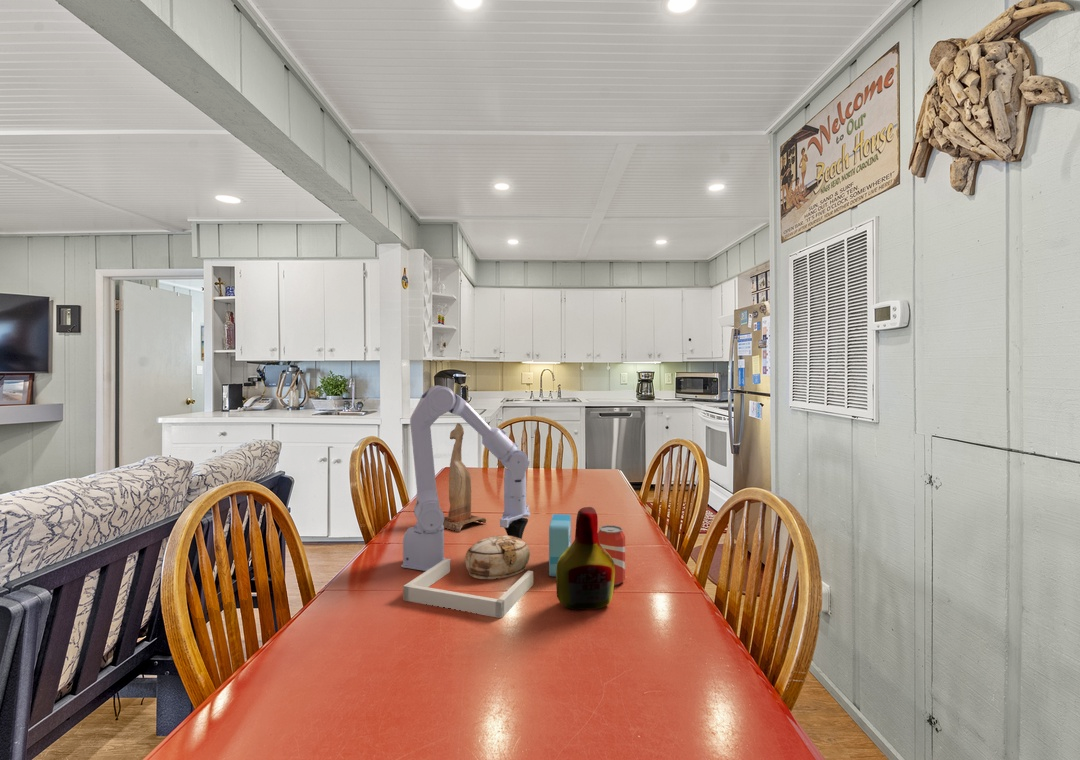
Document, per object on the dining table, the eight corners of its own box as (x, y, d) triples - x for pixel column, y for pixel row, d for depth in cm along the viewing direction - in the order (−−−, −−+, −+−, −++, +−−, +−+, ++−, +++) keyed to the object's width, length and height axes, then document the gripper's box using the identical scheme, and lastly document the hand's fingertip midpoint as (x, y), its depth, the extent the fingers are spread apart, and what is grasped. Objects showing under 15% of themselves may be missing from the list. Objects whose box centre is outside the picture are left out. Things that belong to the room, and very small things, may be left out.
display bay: (403, 600, 108) (403, 585, 108) (445, 571, 124) (445, 558, 124) (501, 618, 100) (501, 602, 100) (533, 584, 116) (533, 571, 116)
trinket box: (457, 577, 120) (457, 543, 120) (487, 556, 134) (487, 526, 134) (509, 586, 115) (509, 551, 115) (535, 563, 129) (535, 532, 129)
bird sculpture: (460, 519, 169) (457, 420, 169) (487, 524, 162) (484, 421, 162) (434, 527, 160) (431, 423, 159) (462, 533, 153) (458, 424, 153)
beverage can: (627, 578, 119) (627, 526, 119) (619, 589, 114) (619, 534, 113) (602, 574, 122) (602, 523, 122) (593, 584, 116) (593, 530, 116)
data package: (568, 579, 119) (568, 527, 119) (549, 578, 119) (548, 526, 119) (571, 560, 131) (570, 512, 131) (553, 559, 131) (552, 512, 131)
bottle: (612, 599, 109) (612, 503, 108) (617, 613, 102) (617, 512, 102) (555, 599, 109) (555, 504, 108) (556, 613, 102) (556, 512, 102)
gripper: (518, 503, 126) (518, 558, 127) (539, 490, 140) (539, 540, 140) (492, 500, 129) (492, 555, 129) (515, 488, 142) (515, 537, 143)
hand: (515, 547), depth 135 cm, fingers closed
